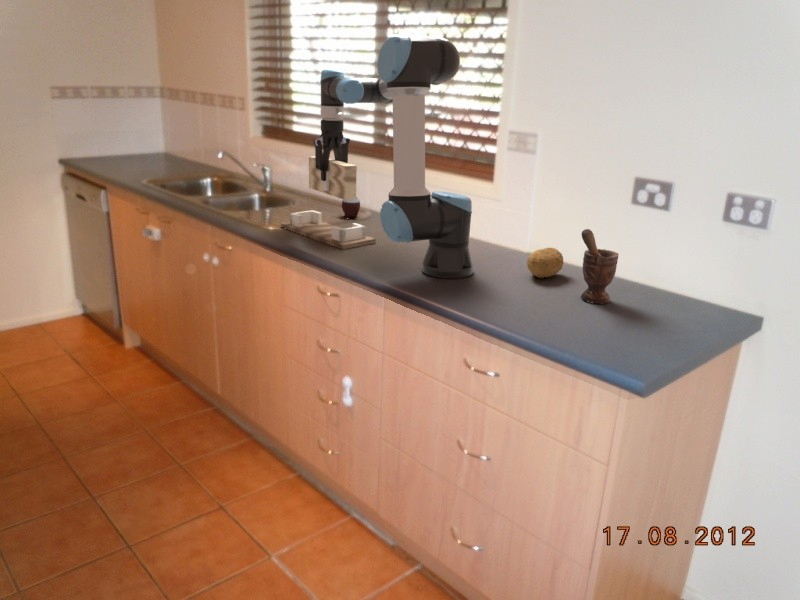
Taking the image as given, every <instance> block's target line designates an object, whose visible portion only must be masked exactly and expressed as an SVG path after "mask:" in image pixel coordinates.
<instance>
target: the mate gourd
mask: <svg viewBox="0 0 800 600" xmlns="http://www.w3.org/2000/svg"><path fill="white" fill-rule="evenodd" d="M341 201H342V202H341V209H342V212H343V214H344V215H343V217H344V218H346V219H345V220H348V219H347V218H350V219H352V218H358V215H359V211H360V208H361V202H360V199H359V197H357V196H356V199H352V200H344V199H341Z"/></svg>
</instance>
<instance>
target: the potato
mask: <svg viewBox="0 0 800 600" xmlns="http://www.w3.org/2000/svg"><path fill="white" fill-rule="evenodd" d="M526 266H527V270H529V272H530V273H531V275H534V276H535V277H536V278H539V279H544V277H545V278H549V277H552V276H555V275H556V274H557V273H558V272H560V271H561V270H562V269H563V267H564V256H563V254H562V252H560V251H559V250H558V249H556V248H555V247H545V248H541V249H537V250H534V251H533V252H531V253H530V254H529V256H528V257H527V261H526Z"/></svg>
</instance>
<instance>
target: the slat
mask: <svg viewBox="0 0 800 600" xmlns="http://www.w3.org/2000/svg"><path fill="white" fill-rule="evenodd" d="M357 169H358V168H357V165H356V164H353V163H349V162H348V163H344V162H341V161H337V160H335V159H332V158H329V162H328V168H327V171H329V191H325V190H323V181H322V180H321V171H320V170H319V169H316V160H315V155H314V156H313V155H312V156H308V189H311V190H313V191H318V192H319V193H320V192H321V193H323V194H327V195H329V196H332V197H335V198H338V199H341V200H343V199H344V200H352V199H356V197H357Z"/></svg>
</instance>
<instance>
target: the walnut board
mask: <svg viewBox="0 0 800 600" xmlns="http://www.w3.org/2000/svg"><path fill="white" fill-rule="evenodd" d="M335 226H336V225H334V224H330V223H327V222H324V221H322V224H316V223H313V222H310V223H303V227H297V226H294V225H291V224H290V221H289V222H281V223H280V228H281V227H284V228H286V229H285V230H287V229H288V230H287V231H289V230H291V231H290V232H292V231H293V232H292V233H295V232H296V233H295V234H298V233H299V234H298V235H301V236H303V235H304V237H306V236H307V237H306V238H309V237H310V239H312V238H313V240H315V239H316V240H315V241H318V240H319V241H318V242H320V241H321V243H323V242H324V243H323V244H326V243H327V244H326V245H329V244H330V245H329V246H332V245H333V246H332V247H334V246H335V248H337V247H338V249H340V248H341V250H347V248H348V249H352V247H354V248H358V246H359V247H362V246H368V245H374V244H376V243H377V240H376V239H377V238H374V237H371V236H369V235H368V236H367V235H366V237H365V238H362V239H357V240H351V241H346V242H340V241H337V240H334V239H332V227H335ZM336 227H339V228H342V229H344V228H343V227H340V226H336ZM284 228H283V229H284Z"/></svg>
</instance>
